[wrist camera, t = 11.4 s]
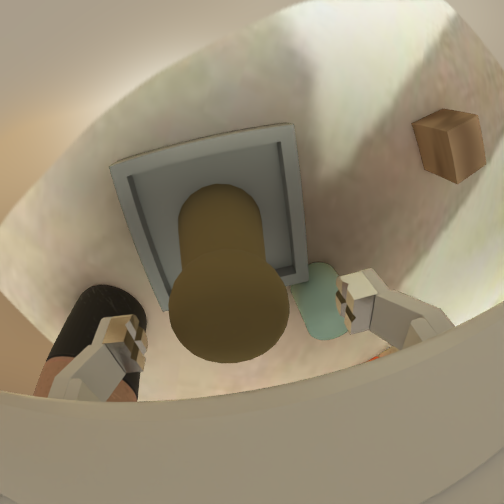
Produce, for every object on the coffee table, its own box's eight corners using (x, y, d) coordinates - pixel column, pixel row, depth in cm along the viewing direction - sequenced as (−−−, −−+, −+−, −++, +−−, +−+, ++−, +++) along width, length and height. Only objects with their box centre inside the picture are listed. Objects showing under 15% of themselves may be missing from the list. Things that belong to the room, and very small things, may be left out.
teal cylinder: (333, 255, 24) (359, 289, 19) (338, 293, 26) (360, 328, 22) (286, 271, 24) (303, 309, 19) (295, 308, 26) (311, 346, 22)
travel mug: (165, 330, 25) (157, 547, 8) (108, 350, 26) (79, 530, 8) (117, 269, 21) (47, 522, 4) (62, 298, 22) (-11, 491, 5)
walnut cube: (442, 108, 18) (477, 115, 14) (453, 151, 20) (486, 164, 16) (411, 123, 19) (447, 131, 15) (423, 169, 21) (457, 184, 17)
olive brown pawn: (203, 167, 18) (197, 241, 8) (277, 209, 20) (338, 308, 11) (163, 239, 20) (134, 356, 10) (234, 272, 22) (255, 392, 13)
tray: (285, 122, 18) (293, 124, 16) (302, 267, 24) (309, 280, 22) (118, 160, 17) (108, 166, 16) (165, 296, 23) (162, 311, 22)
